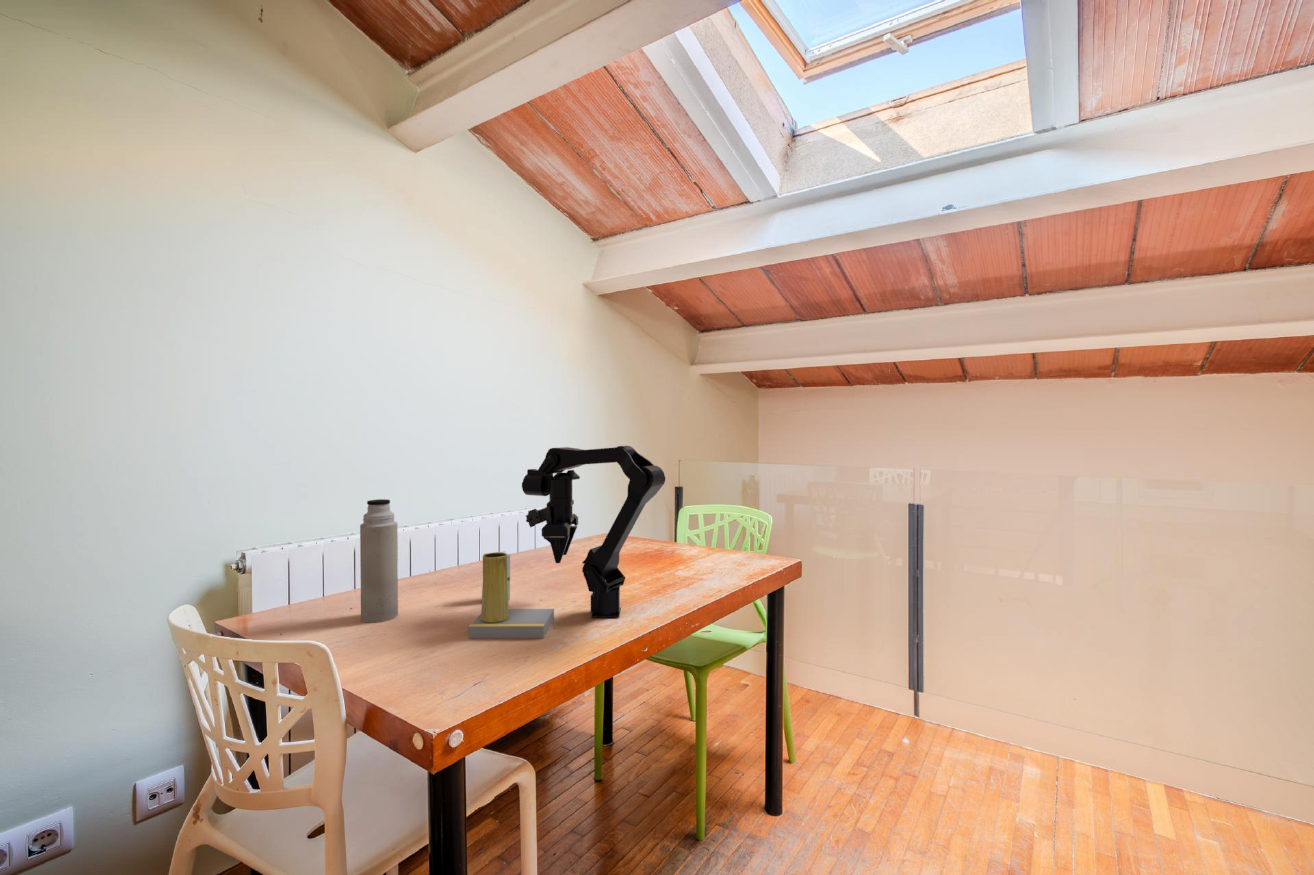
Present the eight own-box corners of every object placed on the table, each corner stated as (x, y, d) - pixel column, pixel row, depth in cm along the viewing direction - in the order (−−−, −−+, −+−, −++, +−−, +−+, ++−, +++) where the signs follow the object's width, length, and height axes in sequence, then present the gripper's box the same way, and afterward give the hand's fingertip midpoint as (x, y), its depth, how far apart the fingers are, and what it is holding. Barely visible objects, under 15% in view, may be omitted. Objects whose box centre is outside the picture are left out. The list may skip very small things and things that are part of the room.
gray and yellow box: (554, 619, 132) (554, 608, 132) (543, 638, 120) (543, 625, 120) (486, 619, 132) (485, 608, 132) (468, 638, 120) (468, 625, 120)
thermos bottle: (382, 609, 139) (381, 497, 139) (405, 614, 136) (404, 498, 136) (353, 619, 132) (352, 500, 132) (376, 624, 129) (375, 502, 128)
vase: (489, 613, 128) (488, 551, 128) (514, 615, 127) (513, 552, 127) (475, 622, 122) (475, 557, 122) (501, 624, 121) (501, 558, 121)
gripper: (537, 493, 151) (537, 551, 151) (519, 501, 132) (520, 567, 132) (578, 493, 151) (578, 551, 151) (567, 501, 132) (567, 567, 132)
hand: (561, 558), depth 142 cm, fingers open, 9 cm apart
